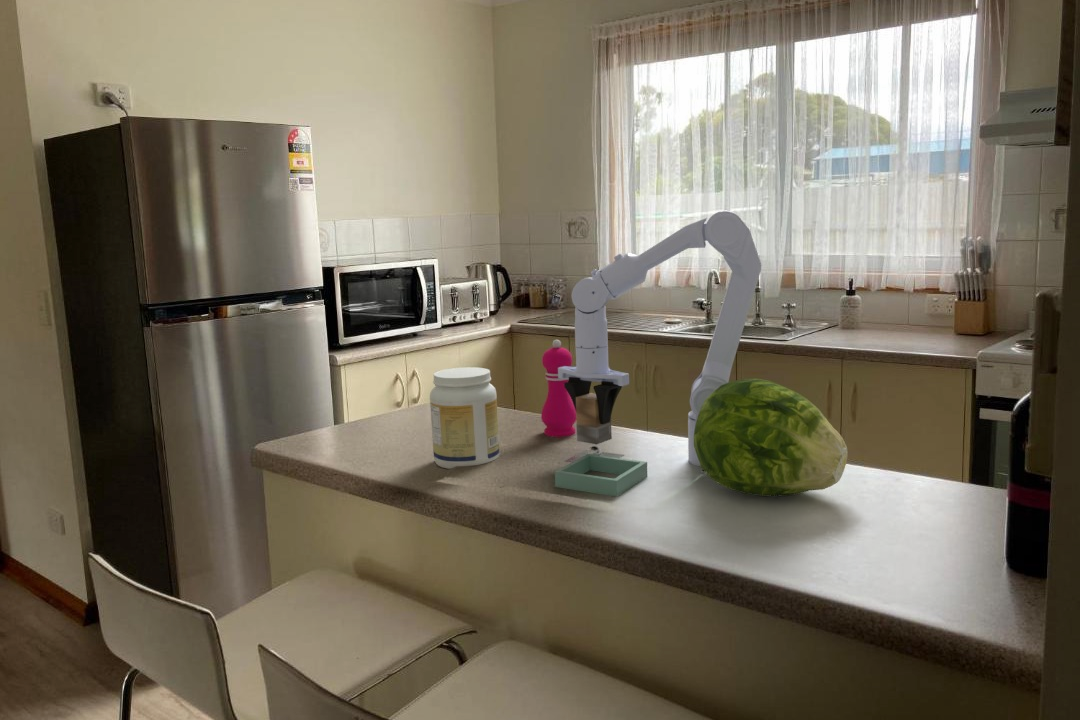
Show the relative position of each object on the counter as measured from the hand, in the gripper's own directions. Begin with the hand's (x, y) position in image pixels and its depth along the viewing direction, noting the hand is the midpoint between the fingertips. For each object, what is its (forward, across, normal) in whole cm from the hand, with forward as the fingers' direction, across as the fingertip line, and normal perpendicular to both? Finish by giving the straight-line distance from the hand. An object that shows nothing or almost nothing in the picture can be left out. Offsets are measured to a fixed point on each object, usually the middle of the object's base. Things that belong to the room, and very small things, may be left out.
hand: (593, 421), depth 153 cm
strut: (+3, 0, 0) cm, 3 cm away
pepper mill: (+8, +17, -10) cm, 21 cm away
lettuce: (+8, -33, -2) cm, 34 cm away
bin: (+8, -9, +10) cm, 16 cm away
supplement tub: (+8, +20, +13) cm, 25 cm away
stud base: (+8, 0, 0) cm, 8 cm away
